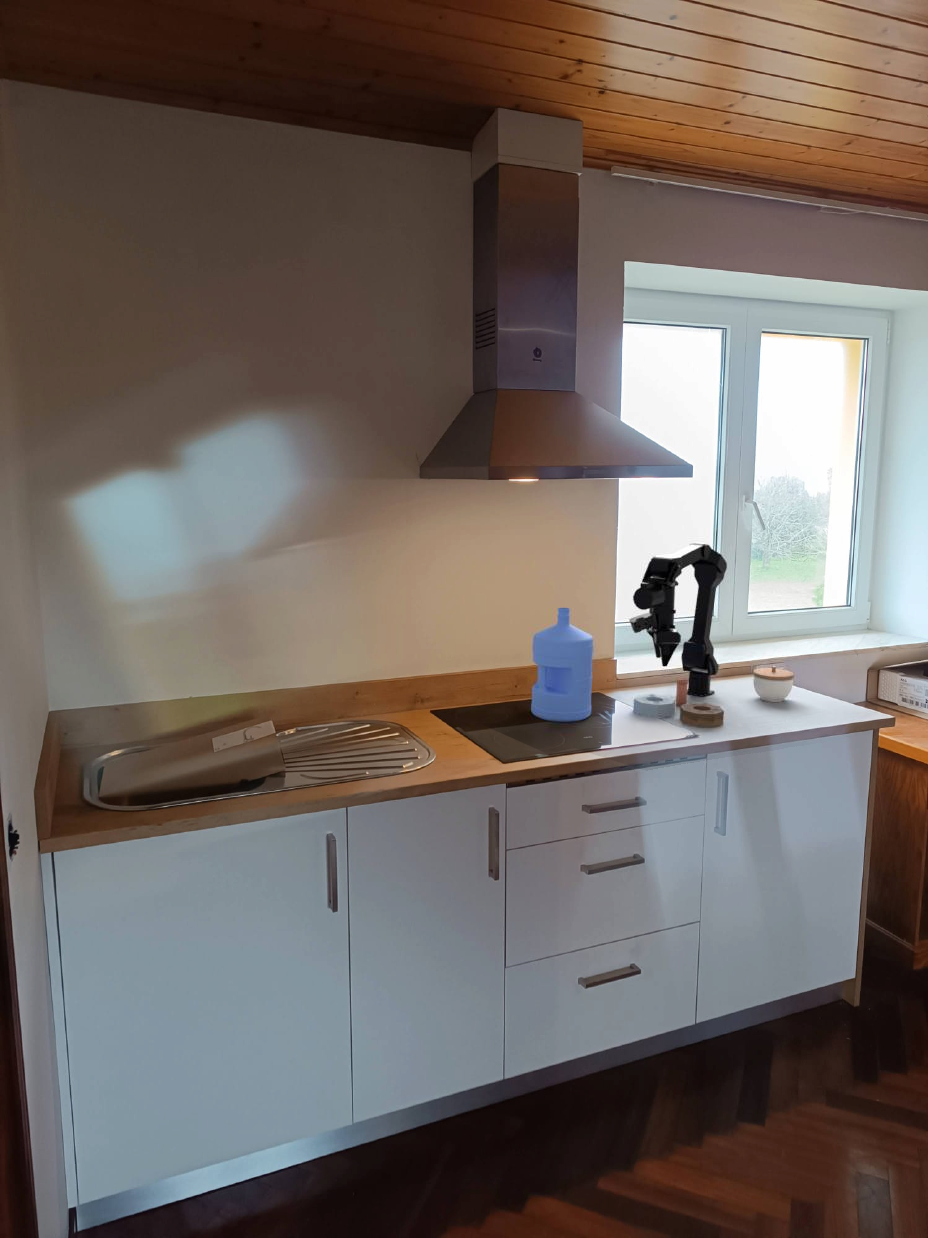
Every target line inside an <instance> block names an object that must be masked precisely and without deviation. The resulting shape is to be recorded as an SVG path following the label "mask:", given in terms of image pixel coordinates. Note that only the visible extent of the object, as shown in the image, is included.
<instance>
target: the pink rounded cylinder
mask: <svg viewBox="0 0 928 1238" xmlns="http://www.w3.org/2000/svg"><path fill="white" fill-rule="evenodd" d="M688 682H689V679H683V678H678V679H676V694H675V695H676V696H675V707H679V708H680V706H681V705H684V704H687V703H688V701H687V700H688V693H687V689H688Z"/></svg>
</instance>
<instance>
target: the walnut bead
mask: <svg viewBox="0 0 928 1238" xmlns="http://www.w3.org/2000/svg"><path fill="white" fill-rule="evenodd" d="M679 708H680V709H679V721H680V722H682V724H684V725H686V726H687V725H688V726H691V727H695V728H717V727H719V726H722V725H724V714H725V713H724V712H725V711H724V709H723V708H722V707H721V706H719V705H716V704H712V703H707V702H687V703H686V704H684V705H681V706H680V707H679Z"/></svg>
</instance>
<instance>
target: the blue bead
mask: <svg viewBox="0 0 928 1238" xmlns="http://www.w3.org/2000/svg"><path fill="white" fill-rule="evenodd" d="M632 710H633V712H634V713H635V714H637V715H639V716H641V717H647V718H655V719H659V718H660V719H662V718H669V717H670V718H671V717H672V716H674V714H675V713H676V698H675V699H674V698H672V697H670V696H668V695H663V694H653V693H648V694H637V695H636V696H635V697H634V698H633V709H632Z"/></svg>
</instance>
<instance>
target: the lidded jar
mask: <svg viewBox="0 0 928 1238" xmlns="http://www.w3.org/2000/svg"><path fill="white" fill-rule="evenodd" d="M752 675H753V679H752V680H753V681H752V682H753V688H754V691H755V693H756V695H757V696H759V698H760V700H761V701H766V702H771V703H780V702H783V701H784V699H786V698H787V697H789V695H790V693H791V691H792V689H793V685H794V678H795V674H794V673H793V672H792V671H790V670H786V669H781V668H777V666H776V665H773V666H771V667H760V668H756V669H753V672H752Z"/></svg>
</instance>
